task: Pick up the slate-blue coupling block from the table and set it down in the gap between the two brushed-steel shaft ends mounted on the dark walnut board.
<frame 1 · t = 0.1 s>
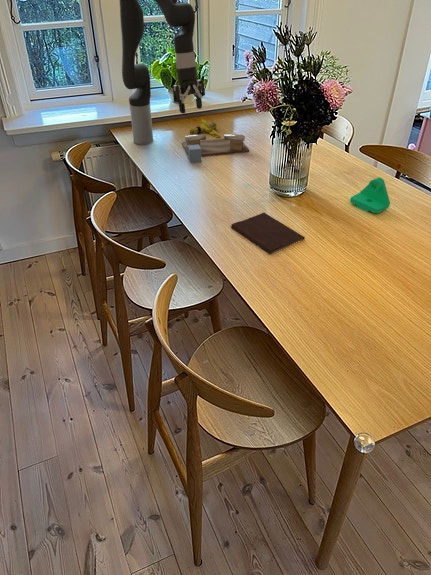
hand: (191, 110, 177), 22 cm above the table, tool pointing down, fingers open, 8 cm apart
sprinkler: (204, 133, 222), on the table
notebook: (266, 235, 149), on the table
shaft b: (234, 149, 204), resting on base board
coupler: (194, 160, 195), on the table
camera mount: (367, 207, 163), on the table
base board: (214, 148, 206), on the table
shaft a: (195, 149, 204), resting on base board
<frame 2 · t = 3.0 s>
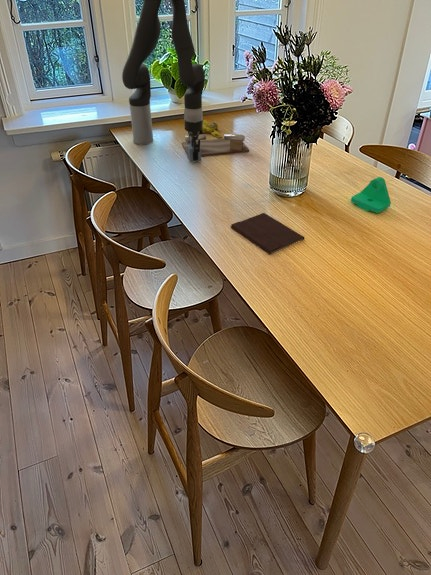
hand: (194, 157, 195), 1 cm above the table, tool pointing down, fingers closed on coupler, 5 cm apart
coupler: (194, 159, 195), on the table, touching gripper
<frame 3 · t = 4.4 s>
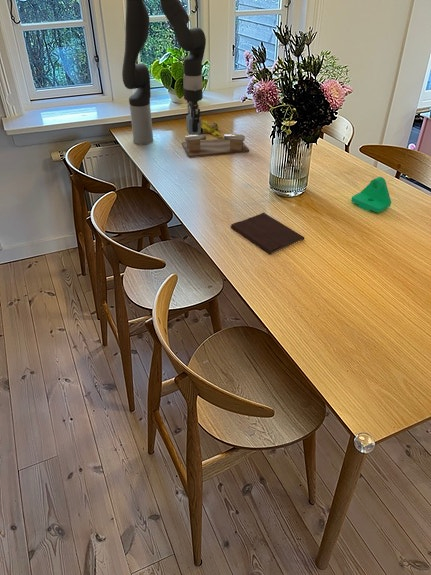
hand: (193, 129, 187), 13 cm above the table, tool pointing down, fingers closed on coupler, 5 cm apart
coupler: (193, 131, 187), point 12 cm above the table, touching gripper
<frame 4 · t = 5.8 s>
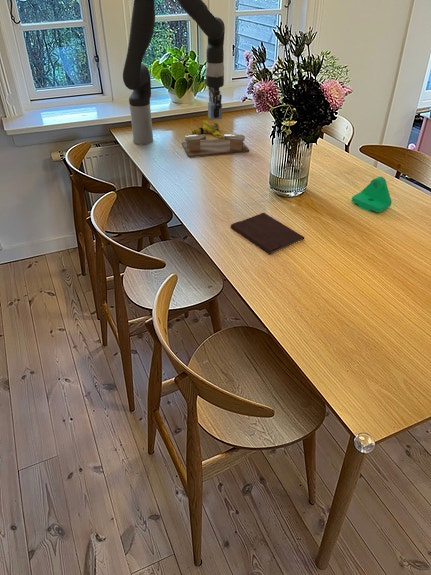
hand: (214, 115, 196), 15 cm above the table, tool pointing down, fingers closed on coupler, 5 cm apart
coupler: (214, 117, 197), point 14 cm above the table, touching gripper
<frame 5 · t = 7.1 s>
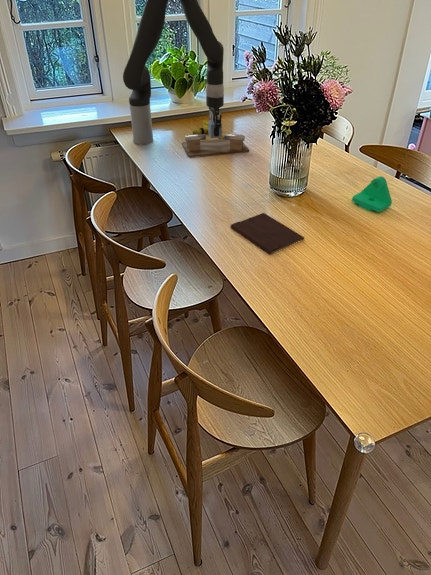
hand: (215, 133, 201), 7 cm above the table, tool pointing down, fingers closed on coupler, 5 cm apart
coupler: (215, 135, 202), point 6 cm above the table, touching gripper
when the fingers open (3 cm above the table, at t = 8.3 s): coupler drops 1 cm, resting on base board.
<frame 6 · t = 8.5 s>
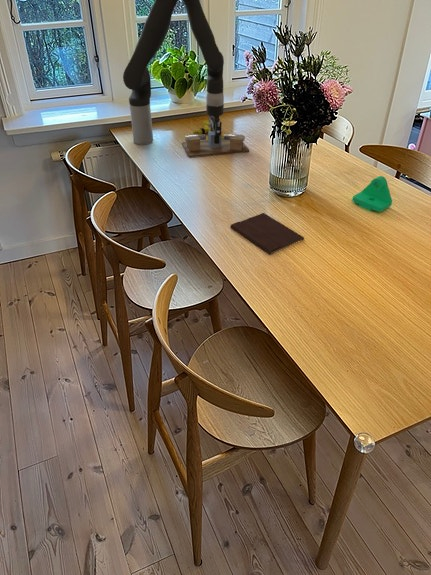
hand: (214, 140, 203), 4 cm above the table, tool pointing down, fingers open, 6 cm apart
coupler: (214, 145, 205), point 1 cm above the table, touching base board
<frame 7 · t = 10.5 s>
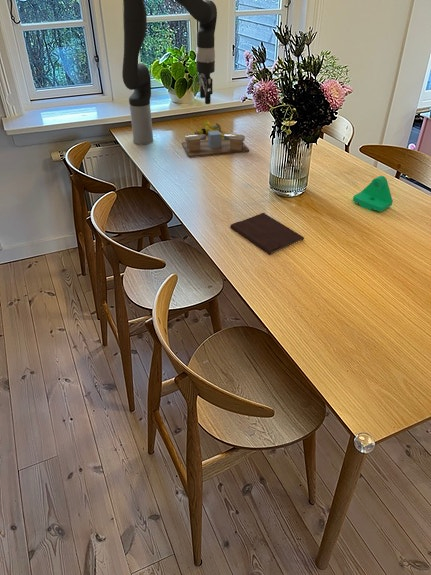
hand: (205, 100, 190), 22 cm above the table, tool pointing down, fingers open, 8 cm apart
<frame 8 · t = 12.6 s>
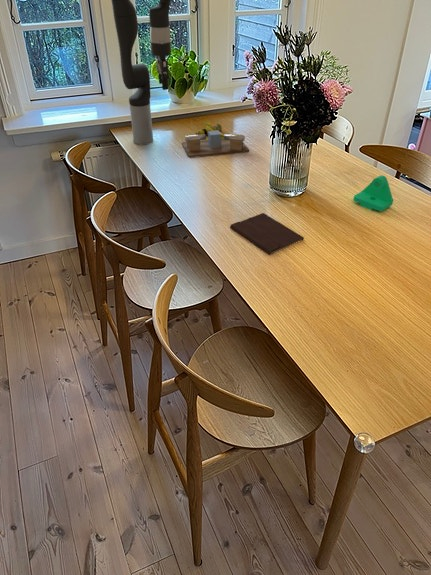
hand: (163, 86, 176), 30 cm above the table, tool pointing down, fingers open, 8 cm apart
at the end: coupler 0.2 cm off-centre on the base board, point 1.0 cm above the base board's base; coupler tilted 0°; the gripper is holding nothing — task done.
